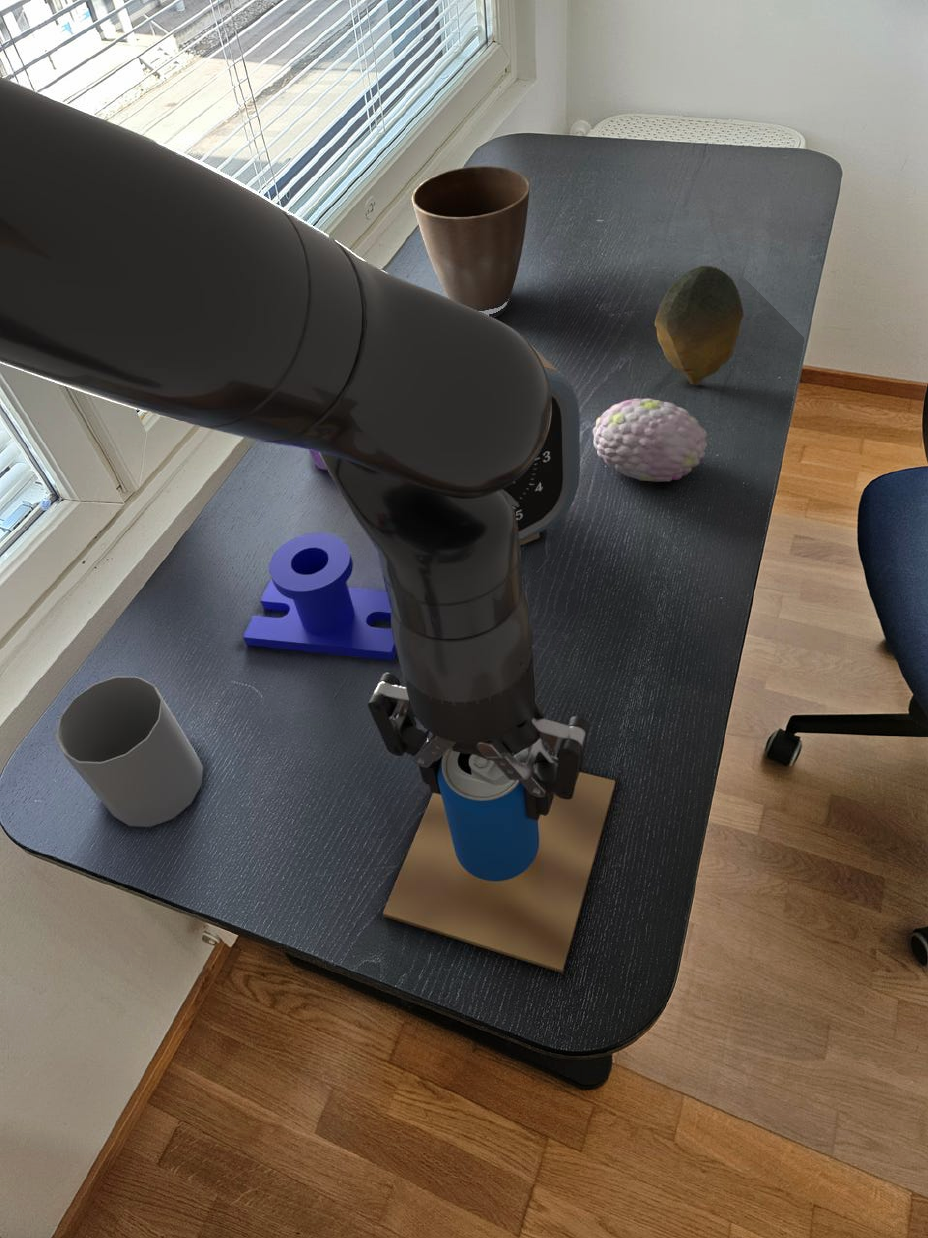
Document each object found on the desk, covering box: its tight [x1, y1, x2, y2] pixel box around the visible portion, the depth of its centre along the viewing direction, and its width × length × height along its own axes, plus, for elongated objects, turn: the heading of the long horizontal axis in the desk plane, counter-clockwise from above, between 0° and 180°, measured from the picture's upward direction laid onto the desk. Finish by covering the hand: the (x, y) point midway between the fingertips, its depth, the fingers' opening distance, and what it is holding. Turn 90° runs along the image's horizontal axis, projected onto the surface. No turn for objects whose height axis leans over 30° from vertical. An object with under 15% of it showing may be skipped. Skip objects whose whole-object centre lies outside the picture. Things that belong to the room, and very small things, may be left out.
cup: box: [55, 675, 204, 828], centre depth 74 cm, size 8×8×10 cm
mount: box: [242, 532, 397, 661], centre depth 84 cm, size 15×8×9 cm, turn 78°
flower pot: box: [411, 165, 531, 319], centre depth 118 cm, size 15×15×16 cm
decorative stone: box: [654, 265, 744, 386], centre depth 102 cm, size 10×6×15 cm, turn 73°
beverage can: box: [438, 748, 539, 882], centre depth 63 cm, size 6×6×12 cm
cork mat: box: [382, 764, 616, 974], centre depth 70 cm, size 16×14×1 cm
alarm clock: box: [501, 347, 581, 546], centre depth 86 cm, size 21×10×22 cm, turn 115°
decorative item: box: [592, 397, 708, 483], centre depth 95 cm, size 9×11×10 cm
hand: (488, 795), depth 62 cm, fingers closed on beverage can, 6 cm apart
